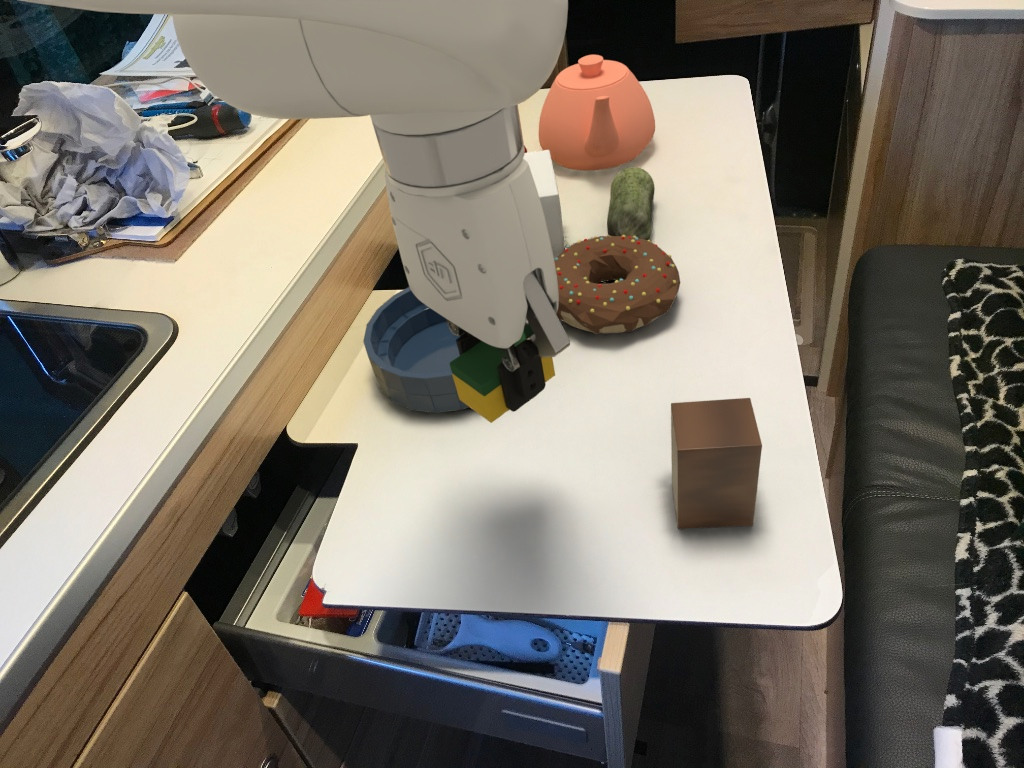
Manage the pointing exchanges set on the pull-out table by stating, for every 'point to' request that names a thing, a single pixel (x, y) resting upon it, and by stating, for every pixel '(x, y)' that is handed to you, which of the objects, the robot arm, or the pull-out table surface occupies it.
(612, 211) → the vegetable
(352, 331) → the pull-out table surface
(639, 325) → the donut
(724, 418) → the wooden block
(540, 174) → the cosmetics box
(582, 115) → the teapot
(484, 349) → the sponge
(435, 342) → the bowl
